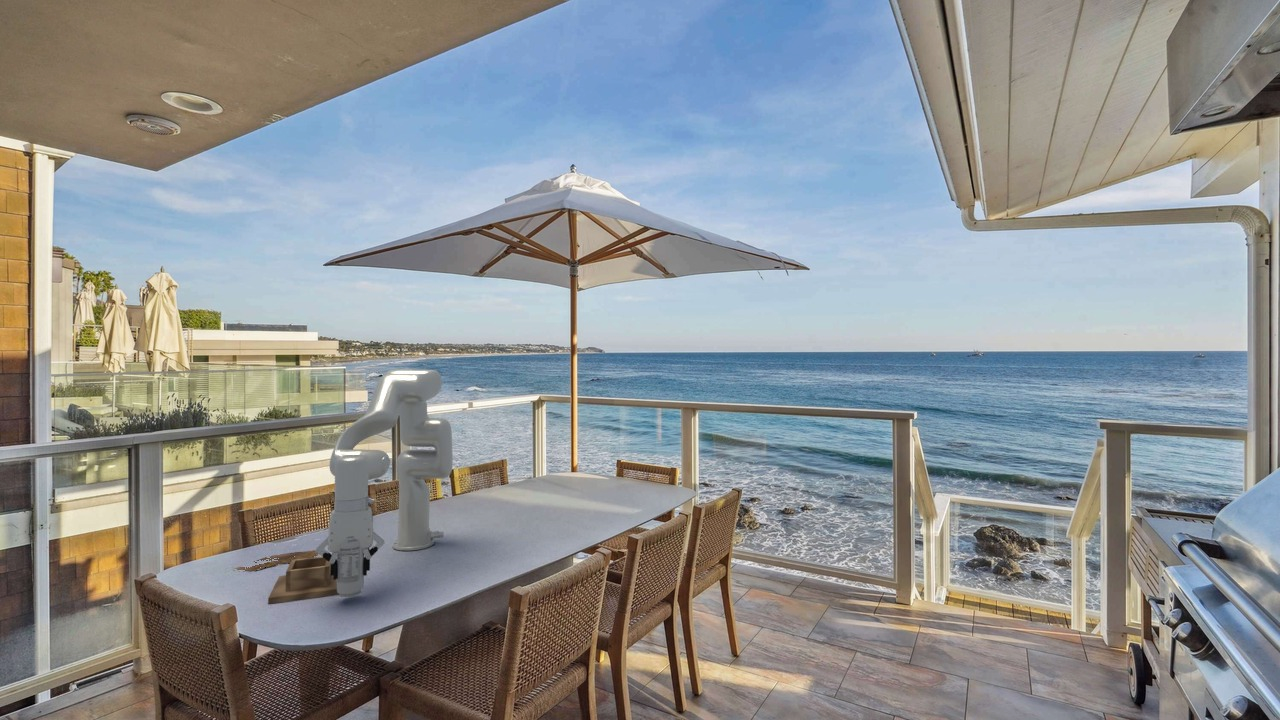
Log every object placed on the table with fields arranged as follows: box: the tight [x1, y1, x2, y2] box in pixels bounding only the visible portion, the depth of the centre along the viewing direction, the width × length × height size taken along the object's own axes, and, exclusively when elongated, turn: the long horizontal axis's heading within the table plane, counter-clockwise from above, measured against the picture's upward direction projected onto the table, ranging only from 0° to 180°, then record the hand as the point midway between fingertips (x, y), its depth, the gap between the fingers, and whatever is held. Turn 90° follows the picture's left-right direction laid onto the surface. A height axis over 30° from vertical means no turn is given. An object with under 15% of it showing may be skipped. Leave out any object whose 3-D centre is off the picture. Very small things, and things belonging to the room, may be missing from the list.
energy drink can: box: [337, 536, 365, 598], centre depth 141 cm, size 6×6×15 cm
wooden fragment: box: [233, 549, 318, 572], centre depth 170 cm, size 26×11×1 cm, turn 138°
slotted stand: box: [267, 556, 340, 605], centre depth 149 cm, size 16×16×6 cm
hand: (350, 575), depth 141 cm, fingers closed on energy drink can, 6 cm apart
